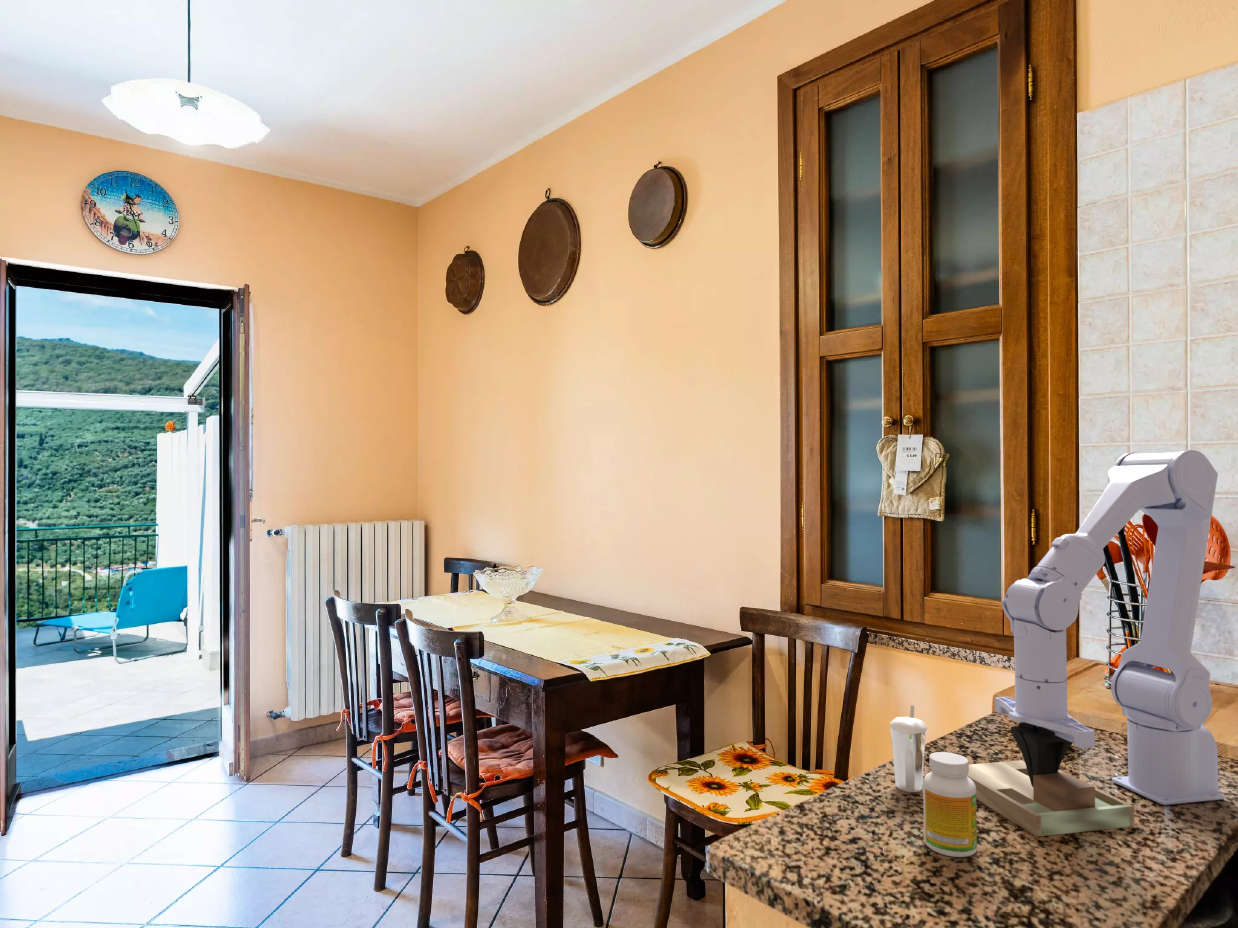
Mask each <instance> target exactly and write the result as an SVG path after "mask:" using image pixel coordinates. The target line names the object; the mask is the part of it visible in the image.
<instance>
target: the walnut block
mask: <svg viewBox="0 0 1238 928" xmlns="http://www.w3.org/2000/svg"><path fill="white" fill-rule="evenodd" d="M1095 788H1096V787H1095V786H1094V785H1092V784H1090V783H1088V782H1085V781H1083V780H1081V779H1080V778H1078V777H1076V776H1073V775H1071V774H1070V773H1067V772H1064V773H1054V774H1043V775H1033V794H1034V801H1036V802H1038V803H1039V804H1041V805H1043V806H1045V807H1047V808H1048V809H1050V810H1052V811H1054V812H1055V811H1065V810H1075V809H1085V808H1095Z"/></svg>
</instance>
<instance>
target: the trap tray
mask: <svg viewBox="0 0 1238 928" xmlns="http://www.w3.org/2000/svg"><path fill="white" fill-rule="evenodd" d="M1021 755H1022V754H1021ZM1021 757H1022V760H1020V759H1019V760H1008V761H998V762H995V761H994V762H986V763H985V762H984V763H973V764H969V774H968V775H967V777H969V778H970V779H971V780H972V781H973V782H974V784H975V786H976V801H978V802H981V804H983V805H985V806H987V807H989V808H990V809H991V810H992V811H995V812H996V813H998V814H1000V815H1001V816H1003V817H1004V818H1006V819H1007V820H1009V821H1010V822H1012V823H1014V824H1015V825H1017V826H1019V827H1020V828H1022V829H1024V830H1025V831H1027V832H1028V833H1030V834H1032V835H1033V836H1035V837H1044V836H1045V837H1046V836H1052V835H1053V836H1054V835H1064V834H1073V833H1080V832H1081V833H1083V832H1092V831H1102V830H1112V829H1120V828H1121V829H1122V828H1130V827H1135V806H1134V805H1132V804H1130V803H1128V802H1126V801H1124V800H1122V799H1119V797H1118V798H1117V797H1115V796H1114V795H1112V794H1110V793H1108V792H1105V791H1104V790H1101V789H1100V788H1097V787H1095V808H1085V809H1075V810H1065V811H1055V812H1054V811H1052V810H1050V809H1048V808H1047V807H1045V806H1043V805H1041V804H1039V803H1038V802H1036V801H1034V794H1033V787H1032V785H1031V782H1030V778H1029V774H1028V771H1027V767H1026V764H1025V761H1024V758H1023V755H1022V756H1021ZM1058 773H1065V772H1064V771H1062V770H1060V769H1059V770H1058Z"/></svg>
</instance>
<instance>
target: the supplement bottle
mask: <svg viewBox="0 0 1238 928" xmlns="http://www.w3.org/2000/svg"><path fill="white" fill-rule="evenodd" d="M928 765H929V769H930V772H928V773H927V774H925V775H924V776H923V786H922V791H923V793H922V797H923V807H922V808H923V840H924V843H925V845H926V846H927V847H928V848H929V849H930V850H932V851H934V852H936V853H938V854H941V855H943V856H948V857H954V858H965V857H966V858H967V857H970V856H973V855H974V854H976V852H977V850H978V833H977V832H978V827H977V826H978V825H977V823H978V822H977V818H978V817H977V799H976V786H975V784H974V782H973V781H972V780H971V779H970V778H969V777H967V775H968V774H969V765H970V764H969V759H968V758H967V757H965V756H963V755H960V754H958V753H955V752H947V751H937V752H933V753H930V754H929V763H928Z"/></svg>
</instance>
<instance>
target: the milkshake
mask: <svg viewBox="0 0 1238 928" xmlns="http://www.w3.org/2000/svg"><path fill="white" fill-rule="evenodd" d="M909 715H910V716H896V717H894V718H893V719H892V720H891V721H890V722H889V731H890V737H891V738H890V739H891V747H892V758H893V759H892V760H893V770H894V771H893V772H894V782H895V784H894V785H895V787H896V788H897V789H899V790H901V791H903V792H907V793H918V792H921V791H923V781H924V767H925V764H924V763H925V751H926V739H927V729H928V727H927V724H926V723H925V722H924V721H923V720H922V719H919V718H916V717H915V705H911V704H910V713H909Z"/></svg>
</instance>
